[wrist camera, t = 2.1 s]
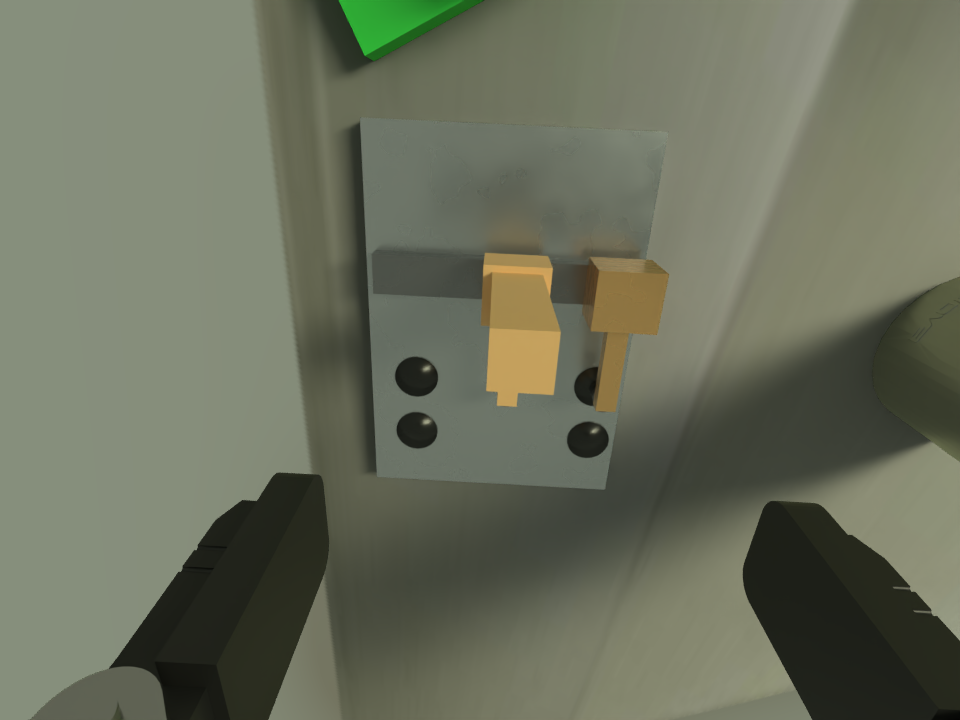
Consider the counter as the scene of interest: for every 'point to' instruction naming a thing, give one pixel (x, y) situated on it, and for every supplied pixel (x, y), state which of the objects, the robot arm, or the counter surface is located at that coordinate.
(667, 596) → the counter surface
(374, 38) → the mechanical part
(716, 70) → the counter surface
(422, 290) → the plate
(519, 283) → the leg
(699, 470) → the counter surface
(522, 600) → the counter surface
